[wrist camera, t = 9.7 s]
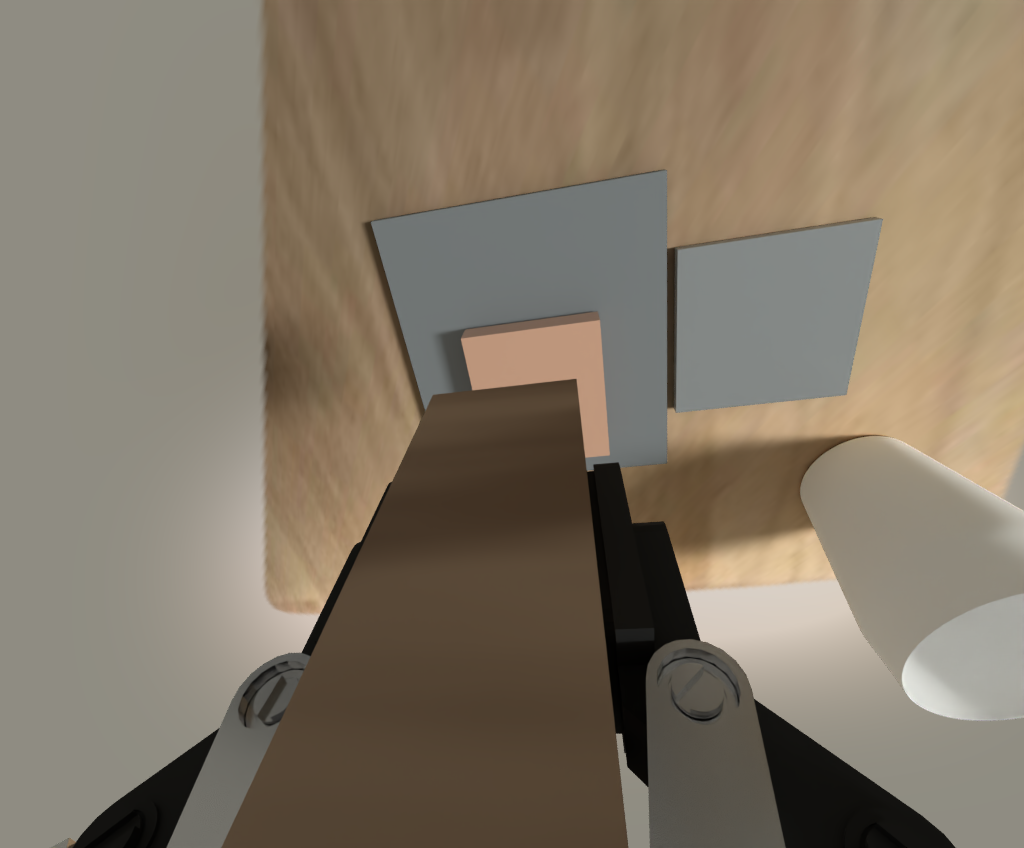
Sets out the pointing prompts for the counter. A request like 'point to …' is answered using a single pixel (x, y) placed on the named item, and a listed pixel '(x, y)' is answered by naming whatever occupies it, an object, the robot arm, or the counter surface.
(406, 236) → the mat
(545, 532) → the bar
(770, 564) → the counter surface
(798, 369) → the coaster
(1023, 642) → the cup
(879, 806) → the robot arm
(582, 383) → the tile
